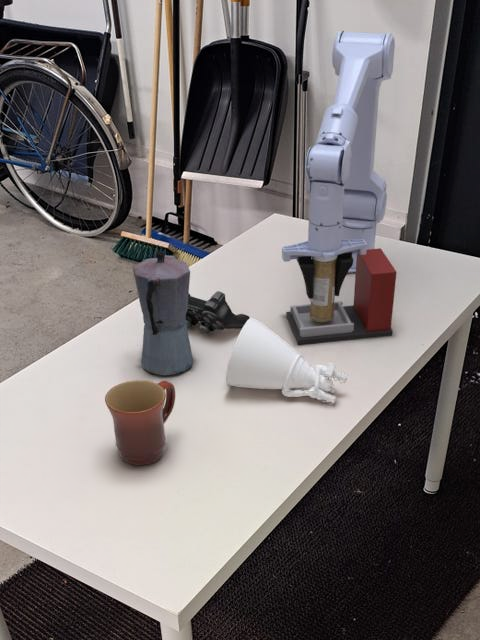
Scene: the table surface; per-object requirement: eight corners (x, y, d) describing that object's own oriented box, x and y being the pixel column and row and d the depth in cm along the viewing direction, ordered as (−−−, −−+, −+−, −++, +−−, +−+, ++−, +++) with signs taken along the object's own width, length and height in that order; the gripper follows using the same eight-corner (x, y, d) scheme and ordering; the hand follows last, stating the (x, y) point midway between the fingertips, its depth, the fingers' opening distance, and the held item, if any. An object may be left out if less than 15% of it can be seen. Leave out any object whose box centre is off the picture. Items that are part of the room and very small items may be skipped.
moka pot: (201, 344, 154) (194, 235, 141) (189, 390, 142) (180, 277, 129) (149, 342, 155) (137, 234, 141) (133, 388, 143) (118, 275, 130)
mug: (142, 478, 125) (135, 420, 118) (101, 456, 129) (92, 399, 122) (197, 440, 132) (193, 383, 125) (156, 421, 136) (150, 364, 129)
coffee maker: (286, 316, 161) (286, 255, 153) (375, 307, 163) (381, 246, 155) (297, 345, 153) (299, 282, 145) (392, 335, 154) (398, 272, 146)
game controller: (167, 329, 164) (147, 296, 155) (185, 302, 165) (166, 267, 156) (237, 352, 156) (220, 319, 148) (255, 323, 158) (239, 288, 149)
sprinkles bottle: (339, 317, 156) (343, 245, 147) (322, 325, 154) (325, 253, 145) (320, 308, 158) (323, 238, 149) (303, 317, 156) (305, 246, 147)
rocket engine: (356, 346, 133) (250, 306, 135) (328, 414, 132) (222, 373, 134) (354, 368, 144) (256, 331, 146) (328, 431, 143) (230, 392, 146)
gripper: (287, 232, 140) (287, 308, 149) (373, 225, 142) (367, 301, 151) (280, 216, 146) (279, 291, 155) (362, 209, 147) (357, 283, 156)
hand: (322, 294), depth 153 cm, fingers closed on sprinkles bottle, 4 cm apart
